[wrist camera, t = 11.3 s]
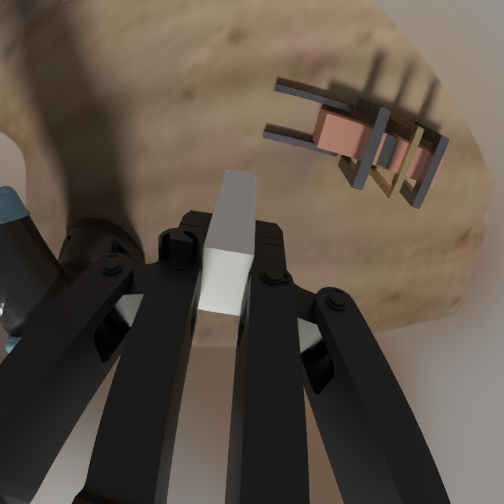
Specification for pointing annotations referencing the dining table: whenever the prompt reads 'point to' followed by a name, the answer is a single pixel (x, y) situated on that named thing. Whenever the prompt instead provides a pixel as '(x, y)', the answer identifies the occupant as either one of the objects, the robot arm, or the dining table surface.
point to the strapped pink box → (352, 139)
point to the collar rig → (372, 141)
